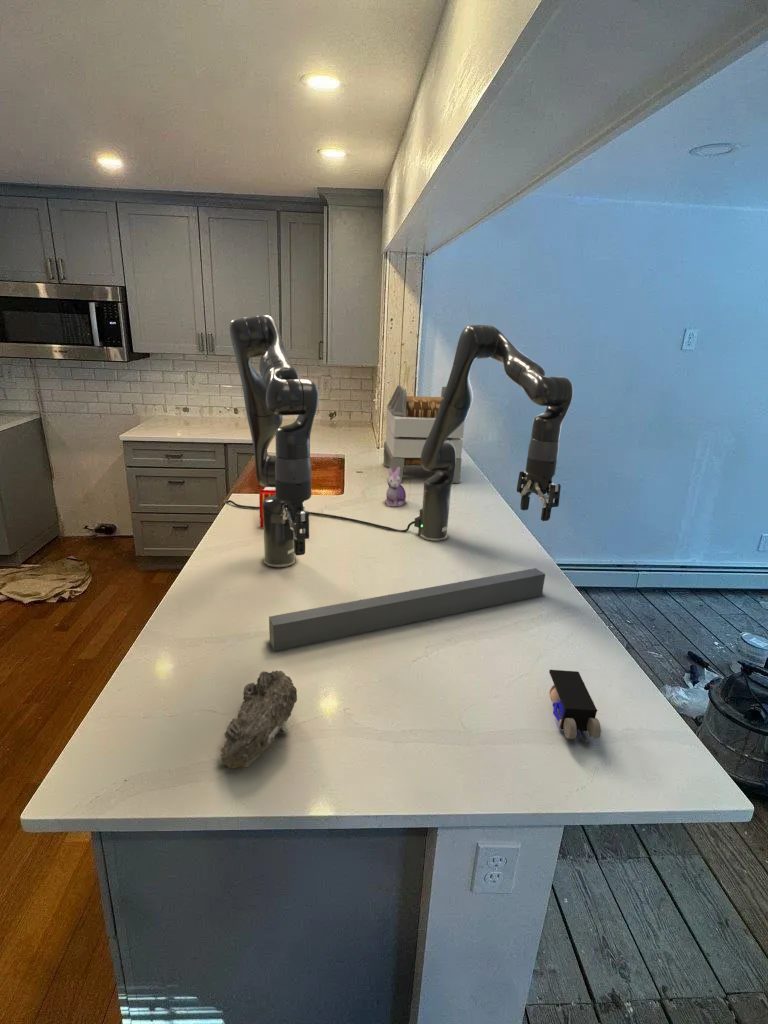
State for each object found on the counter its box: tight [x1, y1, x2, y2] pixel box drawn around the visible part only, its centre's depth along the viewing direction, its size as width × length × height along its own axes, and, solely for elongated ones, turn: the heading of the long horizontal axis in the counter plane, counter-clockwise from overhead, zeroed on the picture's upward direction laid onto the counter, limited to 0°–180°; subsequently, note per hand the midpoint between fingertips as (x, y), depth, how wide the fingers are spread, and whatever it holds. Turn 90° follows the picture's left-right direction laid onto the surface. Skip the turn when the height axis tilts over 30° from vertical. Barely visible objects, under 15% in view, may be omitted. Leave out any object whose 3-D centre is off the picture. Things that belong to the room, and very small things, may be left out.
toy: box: [258, 487, 276, 529], centre depth 211 cm, size 12×13×30 cm
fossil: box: [220, 670, 298, 769], centre depth 104 cm, size 22×10×15 cm
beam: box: [268, 567, 546, 652], centre depth 146 cm, size 77×4×7 cm, turn 115°
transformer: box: [383, 384, 466, 484], centre depth 268 cm, size 34×33×41 cm
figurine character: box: [548, 669, 602, 743], centre depth 110 cm, size 7×8×15 cm
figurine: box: [385, 467, 407, 507], centre depth 228 cm, size 9×10×15 cm
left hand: (294, 546), depth 125 cm, fingers open, 8 cm apart
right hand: (534, 515), depth 151 cm, fingers open, 8 cm apart
